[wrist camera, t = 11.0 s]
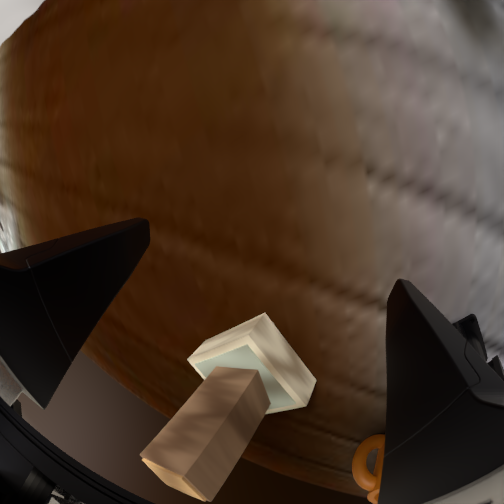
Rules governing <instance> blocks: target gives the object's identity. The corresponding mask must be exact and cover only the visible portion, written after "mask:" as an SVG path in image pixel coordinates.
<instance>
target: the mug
mask: <svg viewBox="0 0 504 504" xmlns="http://www.w3.org/2000/svg"><path fill="white" fill-rule="evenodd" d="M384 447H385V434H384V435H383V434H376V435H373V436H370V437H368V438H366V439H365V440H364V441H363V442H362V443H361V444H360V445H359V447H358V448H357V450H356V452H355V454H354V456H353V461H352V473H353V477H354V479H355V481H356V482H357V484H358V485H359V486H360V487H361V488H363V489H365V490H368V491H369V492H368V495H367V498H368V500H369V501H370V502H372V503H373V504H377V502H378V496H379V490H380V483H381V475H382V466H383V458H384ZM373 449H378V454H377V459H376V464H375V468H374V472H373V474H371V473H370V472H369V471H368V469H367V466H366V459H367V456H368V454H369V452H370V451H372V450H373Z"/></svg>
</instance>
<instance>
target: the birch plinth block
mask: <svg viewBox="0 0 504 504" xmlns="http://www.w3.org/2000/svg"><path fill="white" fill-rule="evenodd" d="M187 360H188V361H189V362H190V364H191V365H192V366H193V367H194V368H195V369H196V371H197V372H198V373H199V374H200V375H201V376H202V378H203V379H204V380H205V379H206V378H207V377H208V375H209V374H210V373H211V372H212V371H213V369H214V368H215V367H216V366H219V367H230V368H241V369H256V370H258V371H259V373H260V376H261V379H262V381H263V384H264V387H265V389H266V392H267V395H268V397H269V400H270V402H271V404H270V406H269V408H268V410H267V411H266V413H265V414H269V413H275V412H280V411H286V410H291V409H296V408H300V407H305V406H307V404H308V401H309V399H310V396H311V394H312V391H313V389H314V386H315V383H316V381H317V380H316V379H315V378H314V376H313V375H312V374H311V372H310V371H309V370H308V369H307V367H306V366H305V365H304V363H303V362H302V361H301V359H300V358H299V357H298V356H297V354H296V353H295V352H294V350H293V349H292V348H291V346H290V345H289V344H288V342H287V341H286V340H285V338H284V337H283V336H282V334H281V333H280V332H279V330H278V329H277V328H276V326H275V325H274V324H273V322H272V321H271V320H270V318H269V317H268V316H267V314H266V313H263V314H261V315H259V316H257V317H255V318H253V319H251V320H249V321H246V322H244V323H242V324H240V325H238V326H236V327H234V328H232V329H230V330H227V331H225V332H223V333H221V334H219V335H216V336H214V337H212V338H210V339H208V340H205V341H204V342H203V344H202V345H201V346H200V347H199V348H198V349H197V350H196V351H195V352H194V353H193V354H192V355H191V356H190V357H189V358H188V359H187Z"/></svg>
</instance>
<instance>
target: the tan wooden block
mask: <svg viewBox="0 0 504 504" xmlns="http://www.w3.org/2000/svg"><path fill="white" fill-rule="evenodd" d="M270 404H271V402H270V400H269V397H268V395H267V392H266V389H265V387H264V384H263V381H262V379H261V376H260V373H259V371H258V370H256V369H241V368H230V367H219V366H216V367H215V368H214V369H213V371H212V372H211V373H210V374H209V375H208V377H207V378H206V379H205V380H204V381H203V383H202V384H201V385H200V386H199V387H198V389H197V390H196V391H195V392H194V393H193V395H192V396H191V397H190V398H189V399H188V400H187V402H186V403H185V404H184V405H183V406H182V407H181V409H180V410H179V411H178V412H177V413H176V414H175V416H174V417H173V418H172V419H171V420H170V421H169V422H168V424H167V425H166V426H165V427H164V428H163V429H162V430H161V432H160V433H159V434H158V435H157V436H156V437H155V438H154V439H153V440H152V442H151V443H150V444H149V445H148V446H147V447H146V448H145V449H144V450H143V451H142V453H141V454H140V456H141V457H142V458H143V459H142V460H143V461H144V462H145V464H146V465H147V466H148V467H149V468H150V469H151V470H152V471H153V472H154V473H155V474H156V475H158V477H159V478H160V479H161V480H163V482H165V483H166V484H167V485H168V486H171V487H173V488H175V489H177V490H179V491H181V492H184V493H186V494H188V495H190V496H193V497H195V498H198V499H200V500H202V501H206V500H207V501H210V502H211V501H212V500H213V498H214V497H215V495H216V494H217V492H218V491H219V489H220V488H221V486H222V485H223V483H224V482H225V480H226V479H227V477H228V476H229V474H230V472H231V471H232V469H233V468H234V466H235V464H236V463H237V461H238V460H239V458H240V456H241V455H242V453H243V451H244V450H245V448H246V446H247V445H248V443H249V441H250V440H251V438H252V436H253V434H254V433H255V431H256V429H257V428H258V426H259V424H260V422H261V420H262V419H263V417H264V415H265V413H266V411H267V410H268V408H269V406H270Z"/></svg>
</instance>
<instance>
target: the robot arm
mask: <svg viewBox="0 0 504 504" xmlns="http://www.w3.org/2000/svg"><path fill="white" fill-rule="evenodd" d="M149 244H150V228H149V221H148V220H147V219H143V218H134V219H130V220H126V221H121V222H117V223H113V224H109V225H105V226H101V227H98V228H94V229H90V230H86V231H82V232H79V233H75V234H71V235H68V236H64V237H61V238H59V239H58V238H57V239H54V240H50V241H47V242H43V243H40V244H36V245H32V246H28V247H24V248H21V249H17V250H13V251H9V252H5V253H1V254H0V504H154V503H152V502H150V501H148V500H145V499H143V498H141V497H139V496H137V495H135V494H133V493H131V492H129V491H127V490H125V489H123V488H121V487H119V486H117V485H115V484H114V483H112V482H110V481H108V480H106V479H105V478H103V477H101V476H100V475H98V474H96V473H95V472H93V471H91V470H90V469H88V468H87V467H85V466H83V465H82V464H81V463H79V462H78V461H76V460H75V459H73V458H72V457H70V456H69V455H67V454H66V453H65V452H63V451H62V450H61V449H59V448H58V447H57V446H55V445H54V444H53V443H51V442H50V441H49V440H48V439H46V438H45V437H44V436H43V435H41V434H40V433H39V432H38V431H37V430H35V429H34V428H33V427H32V426H31V425H30V424H29V423H27V422H26V421H25V420H24V419H23V418H22V413H21V403H20V402H19V401H18V400H17V398H18V396H19V395H20V394H21V392H24V393H25V394H26V395H27V396H28V397H29V398H30V399H31V400H33V401H34V402H35V403H36V404H37V405H39V406H40V407H41V408H42V409H44V410H45V408H46V407H47V405H48V404H49V401H50V400H51V398H52V396H53V394H54V392H55V391H56V389H57V387H58V386H59V384H60V382H61V380H62V379H63V377H64V375H65V374H66V372H67V370H68V369H69V367H70V365H71V364H72V363H71V362H73V360H74V358H75V357H76V355H77V354H78V352H79V350H80V349H81V347H82V346H83V344H84V343H85V341H86V339H87V338H88V336H89V335H90V333H91V332H92V330H93V329H94V327H95V326H96V324H97V323H98V321H99V320H100V318H101V317H102V315H103V314H104V312H105V311H106V309H107V308H108V307H109V305H110V304H111V302H112V301H113V299H114V298H115V297H116V295H117V294H118V292H119V291H120V290H121V288H122V287H123V285H124V284H125V283H126V281H127V280H128V278H129V277H130V276H131V274H132V272H133V271H134V269H135V268H136V266H137V264H138V262H139V261H140V259H141V257H142V256H143V254H144V253H145V251H146V249H147V248H148V246H149ZM471 319H473V320H472V321H470V320H471ZM487 359H488V357H487V353H486V349H485V345H484V342H483V338H482V334H481V331H480V328H479V324H478V321H477V318H476V316H475V315H474V314H470V315H468V316H467V317H465V318H463V319H461V320H459V321H458V322H456V323H453V324H451V323H450V322H449V321H448V320H447V319H446V318H445V317H444V315H443V314H442V313H441V312H440V311H439V310H438V309H437V308H436V307H435V306H434V305H433V304H432V303H431V302H430V301H429V300H428V299H427V298H426V297H425V296H424V295H423V294H422V293H421V292H420V291H419V290H418V289H417V288H416V287H415V286H414V285H413V284H412V283H411V282H410V281H408V280H404V279H398V280H397V281H396V283H395V285H394V287H393V289H392V291H391V293H390V295H389V297H388V301H387V321H386V364H387V410H386V432H385V447H384V458H383V466H382V475H381V483H380V490H379V496H378V502H377V504H504V369H503V367H502V365H501V362H500V360H499V357H498V355H497V356H495V357H494V358H492V360H491V361H490V362H488V363H486V361H487ZM52 491H55V492H57V493H59V494H61V495H63V496H64V499H63V498H61V497H58V496H55V495H53V494H51V493H52Z"/></svg>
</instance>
